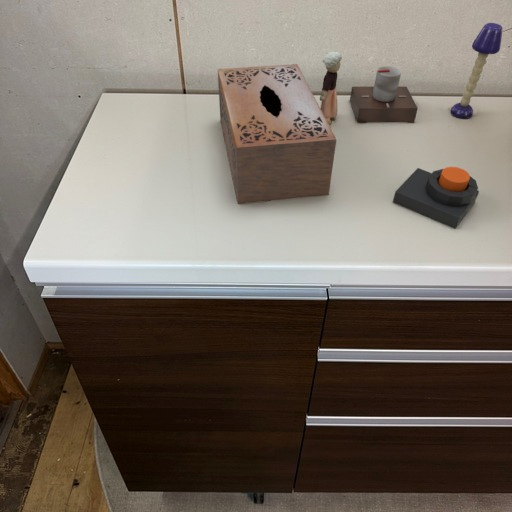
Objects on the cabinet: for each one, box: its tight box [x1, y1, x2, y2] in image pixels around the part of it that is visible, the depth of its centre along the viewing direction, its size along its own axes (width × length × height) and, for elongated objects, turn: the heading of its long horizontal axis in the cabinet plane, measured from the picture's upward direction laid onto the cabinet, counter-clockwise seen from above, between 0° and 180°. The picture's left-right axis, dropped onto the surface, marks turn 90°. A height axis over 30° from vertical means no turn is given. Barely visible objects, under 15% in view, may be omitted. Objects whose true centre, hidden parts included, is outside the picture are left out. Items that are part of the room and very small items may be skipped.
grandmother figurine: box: [319, 51, 343, 126], centre depth 87 cm, size 8×4×13 cm, turn 168°
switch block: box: [392, 167, 480, 230], centre depth 72 cm, size 10×8×4 cm
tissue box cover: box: [217, 63, 337, 205], centre depth 79 cm, size 26×14×10 cm, turn 9°
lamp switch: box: [439, 166, 471, 192], centre depth 70 cm, size 4×4×2 cm
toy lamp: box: [449, 22, 503, 120], centre depth 87 cm, size 5×5×17 cm
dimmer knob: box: [373, 66, 402, 102], centre depth 89 cm, size 4×4×5 cm
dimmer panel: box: [349, 86, 419, 124], centre depth 92 cm, size 11×9×3 cm
